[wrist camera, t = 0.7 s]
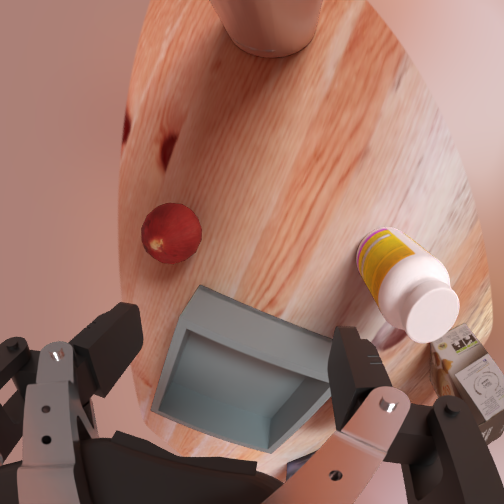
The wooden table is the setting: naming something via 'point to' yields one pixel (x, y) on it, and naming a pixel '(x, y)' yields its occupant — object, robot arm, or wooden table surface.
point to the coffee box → (469, 378)
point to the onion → (171, 233)
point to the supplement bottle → (407, 284)
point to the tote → (241, 373)
